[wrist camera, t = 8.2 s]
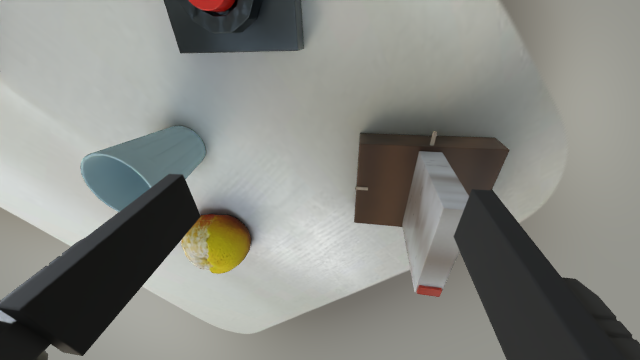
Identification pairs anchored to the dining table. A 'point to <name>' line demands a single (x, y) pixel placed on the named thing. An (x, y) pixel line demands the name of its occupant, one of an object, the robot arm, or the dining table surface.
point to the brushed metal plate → (432, 222)
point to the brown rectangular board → (399, 165)
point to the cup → (141, 164)
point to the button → (213, 5)
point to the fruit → (217, 243)
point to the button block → (237, 26)
